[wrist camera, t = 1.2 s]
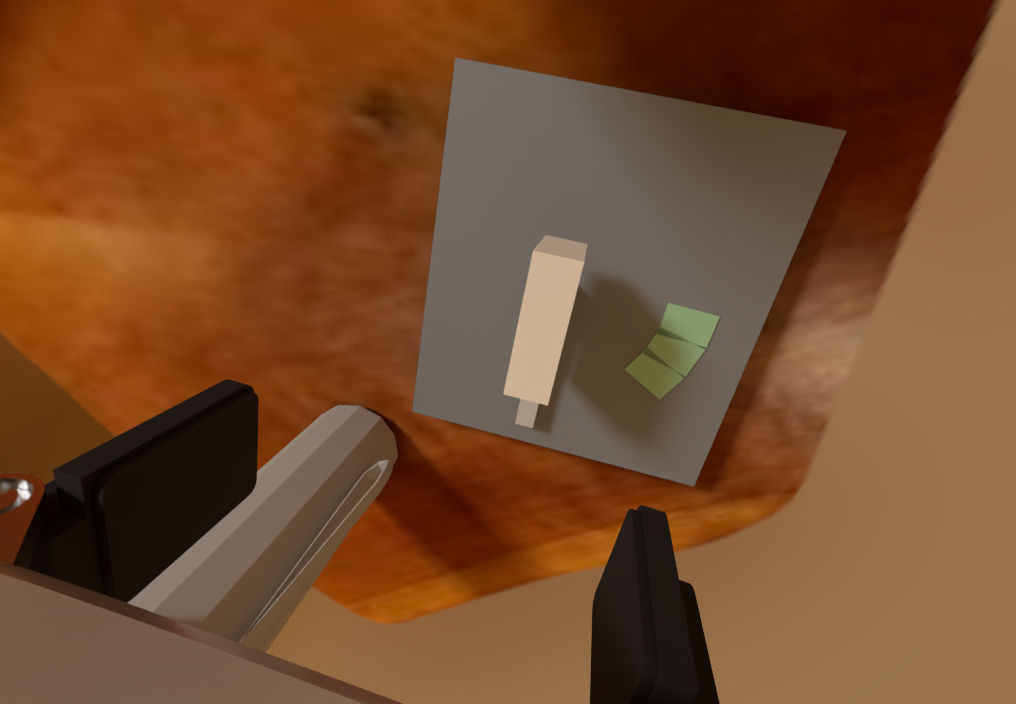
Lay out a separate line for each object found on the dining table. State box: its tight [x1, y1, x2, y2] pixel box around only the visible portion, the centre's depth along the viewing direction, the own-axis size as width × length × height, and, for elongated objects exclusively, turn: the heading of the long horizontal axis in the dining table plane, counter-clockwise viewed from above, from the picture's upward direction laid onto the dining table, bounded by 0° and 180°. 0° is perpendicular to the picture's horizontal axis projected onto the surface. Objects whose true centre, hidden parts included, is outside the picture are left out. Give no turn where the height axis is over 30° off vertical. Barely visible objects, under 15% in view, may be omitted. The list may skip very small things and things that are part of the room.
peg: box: [503, 235, 587, 428], centre depth 26 cm, size 12×2×8 cm, turn 169°
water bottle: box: [128, 405, 398, 653], centre depth 27 cm, size 9×8×25 cm
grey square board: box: [412, 58, 847, 486], centre depth 29 cm, size 22×20×3 cm
